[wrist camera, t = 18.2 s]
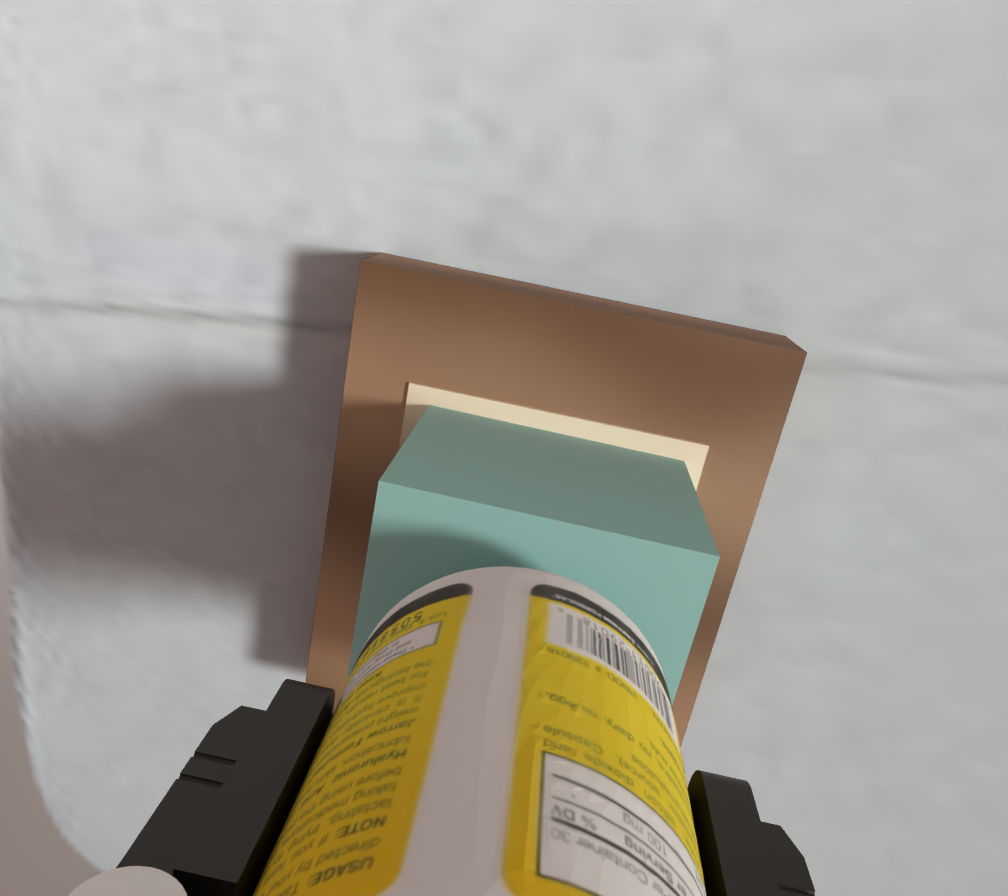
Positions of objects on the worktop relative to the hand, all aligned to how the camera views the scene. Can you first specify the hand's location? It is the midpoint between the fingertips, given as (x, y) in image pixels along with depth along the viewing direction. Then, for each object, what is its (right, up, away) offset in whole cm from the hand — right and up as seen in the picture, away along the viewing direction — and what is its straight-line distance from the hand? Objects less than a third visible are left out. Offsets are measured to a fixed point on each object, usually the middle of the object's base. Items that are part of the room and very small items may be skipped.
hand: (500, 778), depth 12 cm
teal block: (+1, +3, +8) cm, 8 cm away
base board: (+1, +3, +10) cm, 10 cm away
